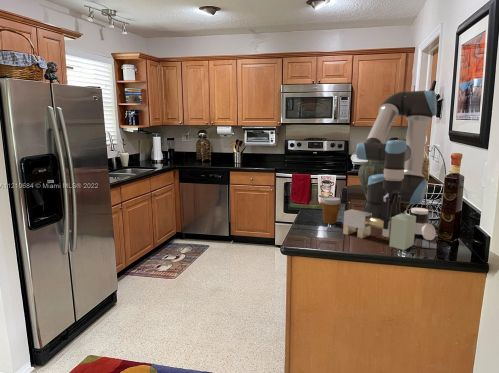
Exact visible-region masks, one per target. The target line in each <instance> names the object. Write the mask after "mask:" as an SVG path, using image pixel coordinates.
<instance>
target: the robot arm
mask: <svg viewBox="0 0 499 373" xmlns="http://www.w3.org/2000/svg"><path fill="white" fill-rule="evenodd" d="M437 112H438V102H437V94H436V92H435V91H434V90H415V91H413V90H409V91H405V90H404V91H398V92H396V93H393V94H391V95H389V96H388V97H387V98H386V99H384V101H383V102H381V104H380V105H379V107H378V112H377V113H378V115H377V117H376V119H375V121H374V123H373V125H372V127H371V129H370V131H369V133H368V135H367V138H366V140H365V142H359V143H357V145H356V147H355V148H356V149H355V156H356V158H357V159H358V160H362V161H368V160H374V161H385V166H384V170H383V172H384V174H377V175H372V176H370V177H369V179H368V184H367V185H368V189H367V199H366V204H365V206H364V209H363V212H368V213H372V217H373V218H378V219H381V220H383V229H382V234H381V236H382V237H386V238H390V224H391V221H390V218H392V217H394V216H396V215H399V214H401V203H404V204H405V203H407V204H410V205H411V204H414V205H416V204H417V205H419V204H422V202H423V201H424V199H425V196H426V192H427V189H428V181H427V180H426V179H425V175H424V174H423V173H422V172H423V164H424V157H425V147H426V140H427V133H428V126H429V123H430V122H431V121H432V120H433V117H435V116H437ZM399 116H403V117H404V116H405V120H406V121H407V122H408V125H407V133H406V139H405V140H400V139H399V140H397V139H396V140H393V139H392V140H391V139H390V140H387V141H386V139H387V137H388V134H389V132H390V129H391V127H392V125H393V123H394V120H396V119H397V118H398V117H399ZM385 141H386V143H385Z"/></svg>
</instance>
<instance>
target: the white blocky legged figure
mask: <svg viewBox="0 0 499 373" xmlns="http://www.w3.org/2000/svg"><path fill="white" fill-rule="evenodd" d="M363 211H364V210H363ZM363 211H361V210H356V209H353V208H352V209H348V210H344V211H343V223H342V224H343V225H342V229H343V230H342V234H344V235H348V236H349V235H350V234H353V233H355V232H357V235H356V236H357V237H356V238H359V239H364V238H367V237H369V236H370V235H371V233H372V232H371V230H372V229H371V228H372V227H370V226H366V225H365V219H366V216H368V217H372V213H368V212H363Z"/></svg>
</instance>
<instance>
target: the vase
mask: <svg viewBox="0 0 499 373" xmlns="http://www.w3.org/2000/svg"><path fill="white" fill-rule="evenodd" d="M384 166H385V161H374V160H366V162H364V163H362V164H361V165H360V166H359V168H358V172H357V173H358V181H359V184H360V187H361V189H362V191H363V194H364V196H365V198H366V200H367V189H368V185H367V184H368V179H369V177H370V176H372V175H377V174H384V172H383V170H384Z"/></svg>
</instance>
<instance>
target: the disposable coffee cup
mask: <svg viewBox="0 0 499 373" xmlns="http://www.w3.org/2000/svg"><path fill="white" fill-rule="evenodd" d="M320 201H321V207H322V208H321V209H322V210H321V211H322V217H323V218H322V219H323V221H322V222H323V223H324V224H327V223H328V224H330V225H333V224H334V223H335V224H337V220H338V215H339V210H340V205H341V203H342V201H341V198H340V197H336V196H323V197H321V199H320Z"/></svg>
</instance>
